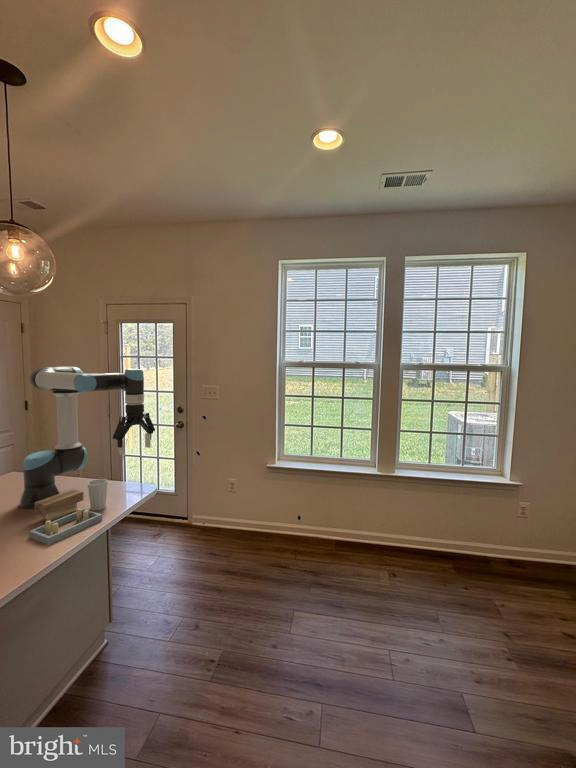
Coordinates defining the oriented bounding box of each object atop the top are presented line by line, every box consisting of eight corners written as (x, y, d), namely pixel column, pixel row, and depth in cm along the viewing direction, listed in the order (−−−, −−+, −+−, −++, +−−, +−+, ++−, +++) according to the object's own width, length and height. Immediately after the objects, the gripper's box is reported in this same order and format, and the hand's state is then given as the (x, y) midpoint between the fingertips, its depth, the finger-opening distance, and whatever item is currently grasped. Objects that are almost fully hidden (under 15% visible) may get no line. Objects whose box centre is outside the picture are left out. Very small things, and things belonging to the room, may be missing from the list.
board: (34, 511, 136) (34, 502, 136) (73, 497, 151) (73, 489, 150) (44, 514, 133) (44, 505, 133) (83, 500, 148) (83, 491, 147)
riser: (42, 519, 137) (42, 510, 137) (71, 508, 148) (71, 499, 148) (48, 521, 136) (48, 512, 136) (76, 509, 147) (76, 501, 146)
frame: (29, 537, 123) (29, 524, 123) (83, 514, 143) (83, 503, 142) (48, 544, 118) (48, 531, 118) (102, 520, 138) (101, 508, 137)
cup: (93, 503, 153) (93, 478, 153) (111, 503, 154) (110, 478, 153) (84, 511, 145) (83, 485, 145) (103, 510, 146) (102, 484, 145)
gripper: (114, 407, 131) (115, 459, 132) (162, 401, 153) (163, 445, 155) (102, 406, 134) (103, 456, 135) (151, 400, 157) (151, 443, 158)
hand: (135, 450), depth 145 cm, fingers open, 13 cm apart
